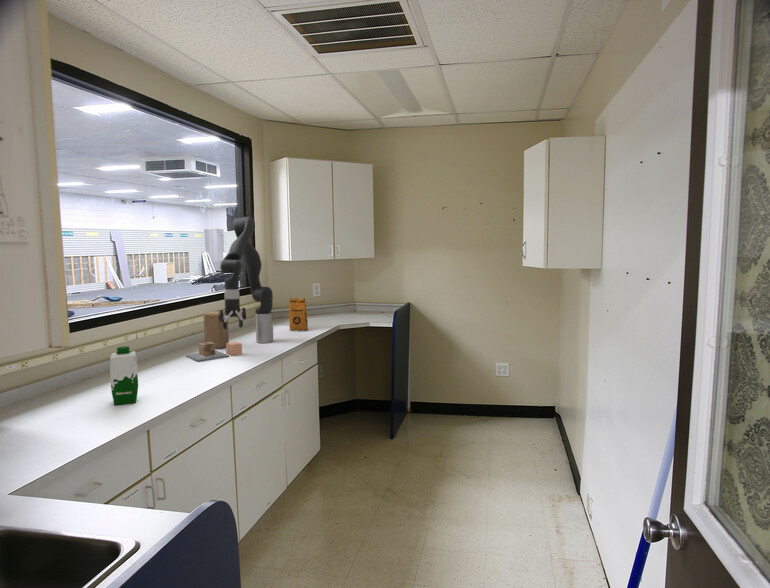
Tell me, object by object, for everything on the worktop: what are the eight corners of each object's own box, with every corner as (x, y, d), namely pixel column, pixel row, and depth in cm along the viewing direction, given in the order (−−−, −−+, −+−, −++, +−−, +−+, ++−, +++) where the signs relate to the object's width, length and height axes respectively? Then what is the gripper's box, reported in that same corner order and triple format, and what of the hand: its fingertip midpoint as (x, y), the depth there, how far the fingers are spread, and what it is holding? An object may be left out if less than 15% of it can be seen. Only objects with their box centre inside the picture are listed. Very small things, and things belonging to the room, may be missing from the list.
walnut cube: (210, 352, 257) (210, 341, 257) (215, 354, 253) (214, 343, 252) (199, 354, 253) (198, 343, 253) (203, 356, 249) (203, 345, 248)
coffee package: (305, 331, 326) (304, 299, 323) (287, 331, 327) (286, 298, 325) (309, 329, 335) (309, 297, 333) (292, 328, 337) (291, 297, 335)
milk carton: (139, 396, 187) (136, 345, 185) (138, 403, 178) (135, 350, 176) (113, 399, 183) (110, 347, 181) (110, 406, 175) (107, 352, 173)
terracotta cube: (237, 352, 263) (236, 341, 263) (242, 354, 259) (241, 343, 258) (226, 354, 259) (226, 343, 259) (231, 356, 255) (231, 345, 254)
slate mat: (215, 352, 264) (215, 350, 264) (228, 356, 253) (228, 354, 253) (185, 356, 254) (185, 354, 254) (198, 361, 242) (197, 359, 242)
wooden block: (220, 349, 271) (219, 313, 269) (204, 348, 273) (202, 313, 271) (229, 345, 281) (228, 311, 279) (213, 345, 283) (212, 311, 281)
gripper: (241, 296, 264) (242, 326, 265) (215, 298, 254) (216, 328, 256) (247, 297, 258) (248, 327, 260) (222, 299, 249) (222, 330, 250)
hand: (232, 328), depth 258 cm, fingers open, 8 cm apart
